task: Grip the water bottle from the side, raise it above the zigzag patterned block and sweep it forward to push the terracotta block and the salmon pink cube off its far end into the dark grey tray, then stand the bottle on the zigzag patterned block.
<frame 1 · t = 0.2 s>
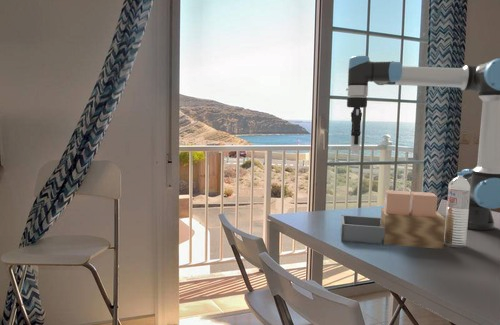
hand: (354, 152, 166), 29 cm above the table, tool pointing down, fingers open, 13 cm apart
tile b: (396, 202, 147), point 13 cm above the table, touching zigzag patterned block
salmon pink cube: (422, 203, 146), point 13 cm above the table, touching zigzag patterned block
water bottle: (454, 245, 145), on the table
tray: (361, 237, 151), on the table
zigzag patterned block: (409, 241, 148), on the table
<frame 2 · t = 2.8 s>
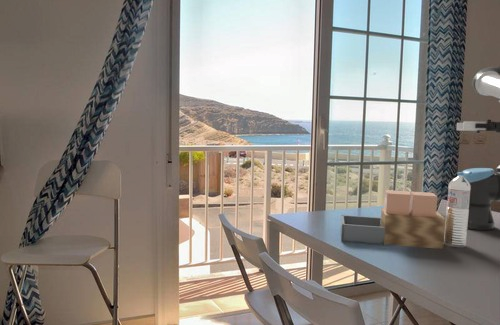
hand: (459, 126, 144), 40 cm above the table, tool horizontal, fingers open, 13 cm apart
nothing on the table moved.
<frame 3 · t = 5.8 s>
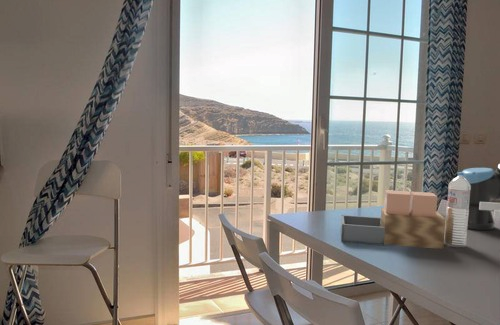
hand: (486, 209, 142), 13 cm above the table, tool horizontal, fingers open, 13 cm apart
nothing on the table moved.
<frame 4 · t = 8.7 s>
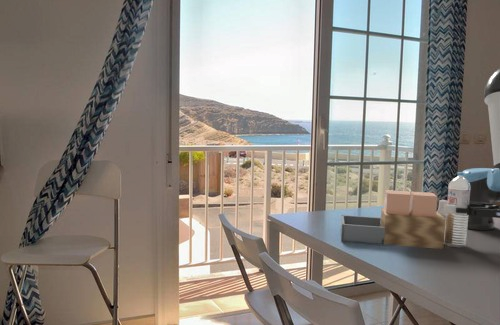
hand: (442, 206, 144), 13 cm above the table, tool horizontal, fingers closed on water bottle, 7 cm apart
water bottle: (454, 245, 145), on the table, touching gripper
everything else where it was.
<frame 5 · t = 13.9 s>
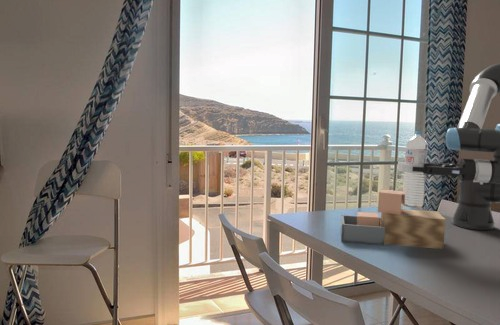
hand: (399, 166, 143), 26 cm above the table, tool horizontal, fingers closed on water bottle, 7 cm apart
tile b: (367, 225, 151), point 4 cm above the table, tilted 90°, touching tray
salmon pink cube: (391, 201, 148), point 14 cm above the table
water bottle: (412, 206, 144), point 13 cm above the table, touching gripper
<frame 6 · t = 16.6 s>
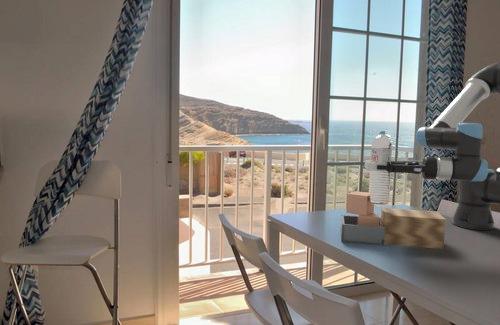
hand: (365, 165, 148), 26 cm above the table, tool horizontal, fingers closed on water bottle, 7 cm apart
salmon pink cube: (360, 203, 154), point 12 cm above the table, touching water bottle
water bottle: (378, 203, 148), point 13 cm above the table, touching gripper, salmon pink cube
everything else where it was.
when the fingers open (24 cm above the table, at t = 19.5 s): water bottle drops 1 cm, resting on zigzag patterned block.
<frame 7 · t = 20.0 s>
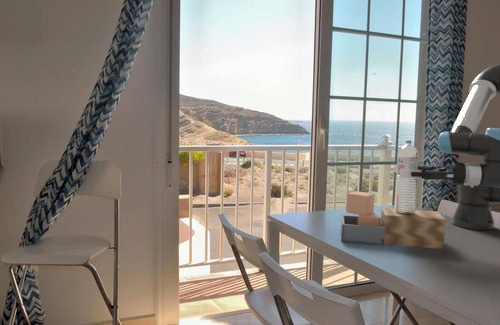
hand: (396, 170, 146), 24 cm above the table, tool horizontal, fingers open, 13 cm apart
tile b: (367, 225, 151), point 4 cm above the table, tilted 90°, touching salmon pink cube, tray
salmon pink cube: (360, 203, 154), point 12 cm above the table, touching tile b
water bottle: (404, 213, 147), point 10 cm above the table, touching zigzag patterned block
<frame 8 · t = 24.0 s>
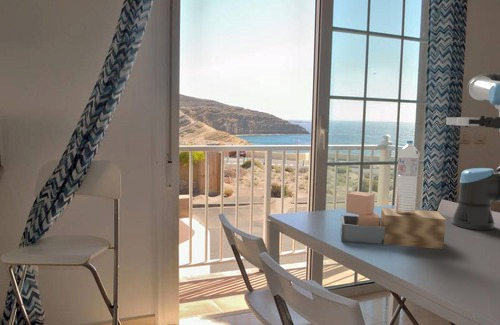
hand: (451, 121, 145), 42 cm above the table, tool horizontal, fingers open, 13 cm apart
nothing on the table moved.
at the end: salmon pink cube inside the target area on the tray (4.0 cm from its centre), point 11.6 cm above the tray's base; tile b inside the target area on the tray (2.5 cm from its centre), point 4.3 cm above the tray's base; the gripper is holding nothing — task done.
